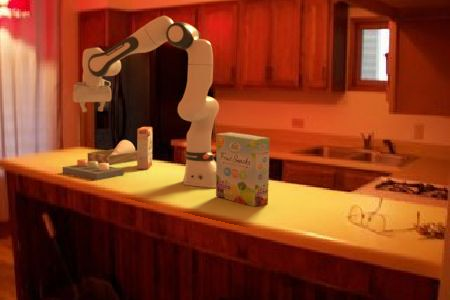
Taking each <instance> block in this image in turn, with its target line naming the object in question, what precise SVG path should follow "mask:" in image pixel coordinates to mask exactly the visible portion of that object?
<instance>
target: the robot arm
mask: <svg viewBox="0 0 450 300" xmlns="http://www.w3.org/2000/svg"><path fill="white" fill-rule="evenodd" d="M166 42H168V43H170V44H171V46H173V47H176V48H178V49H180V50H182V51H183V50H184V51H186V53H187V58H188V60H187V81H186V87H185V91H184V93H183V95H182V96H183V97H182V99H181V100H180V101H179V102H178V106H177V114H178V115H179V117H180V118H181V119H182V120H185V121H187V122H190V123H191V125H190V127H189V130H188V131H187V133H186V150H185V160H186V161H185V169H184V171H185V172H184V176H183V178H182V182H183V185H185V186H194V187H201V188H208V189H216V160H215V158H214V157H215V156H216V153H213V152H212V133H213V127H214V123H215V119H216V117H217V115H218V114H219V111H220V104H219V102H218V100H217V99H215V98H213V97H211V96H210V95H209V96H208V92H209V89H210V88H211V86H212V84H213V78H214V77H213V76H214V75H213V73H214V55H213V54H214V53H213V47H212V43H211V42H210V41H208V40H207V39H204V38H203V39H202V38H201V33H200V32H199V30H198V28H197V27H195V26H193V25H191V24H189V23H187V22H181V21H176V22H174V21H173V20H172V18H170V17H169V16H167V15H161V16H158V17H156V18H155V19H153V20H151V21H149V22H148V23H146V24H144V25H143V26H142V27H139V29H137V30H136V31H135V32H134V33H131V35H129V36H128V37H126V38H125V39H124V40H121V41H120V42H118V43H117V44H115V45H114V46H112V47H110V48H108V49H107V50H105V51H103V50H102V48H100V47H94V46H93V47H88V48H86V49H84V50H83V53H82V70H83V71H82V81H81V82H76V83H74V85H73V91H72V101H73V102H74V103H79V106H80V108H81V112H82V113H87V112H88V108H87V107H86V106H85V105H86V103H99V104H100V106H99V107H97V108H98V109H97V111H98V112H103V111H104V107H105V104H106V102H111V100H112V89H111V84H112V83H111V81H108V80H106V79H104V78H103V77H112V76H117V75H118V74H119V73H120V72H121V71H122V62H121V60H122V59H124V58H125V57H128V56H129V55H134V54H141V53H142V54H143V53H149V52H152V51H153V50H156V49H157V48H158V47H161V45H163V44H164V43H166Z"/></svg>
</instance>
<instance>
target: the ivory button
mask: <svg viewBox="0 0 450 300" xmlns="http://www.w3.org/2000/svg"><path fill="white" fill-rule="evenodd" d="M109 167H110V165H109V163H99V164H98V171H102V172H104V171H109Z"/></svg>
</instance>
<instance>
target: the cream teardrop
mask: <svg viewBox="0 0 450 300" xmlns="http://www.w3.org/2000/svg"><path fill="white" fill-rule="evenodd" d="M114 149H115V150H114V151H113V153H111V154H110V155H117V154H124V153H131V152H135V150H136V147H135V146H134V144H133V142H131V141H130V140H127V139H122V140H121V141H119V143H118V144H117V145H116V146H115V148H114ZM110 155H109V156H110Z"/></svg>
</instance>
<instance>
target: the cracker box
mask: <svg viewBox="0 0 450 300" xmlns="http://www.w3.org/2000/svg"><path fill="white" fill-rule="evenodd" d="M136 130H137V136H136V137H137V139H136V140H137V141H136V142H137V146H136V147H137V148H136V150H137V162H136V163H137V164H136V167H137V168H136V169H137V170H149V168H150V167H151V166H153V127H152V126H142V127H140V128H139V127H138V128H137V129H136Z"/></svg>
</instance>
